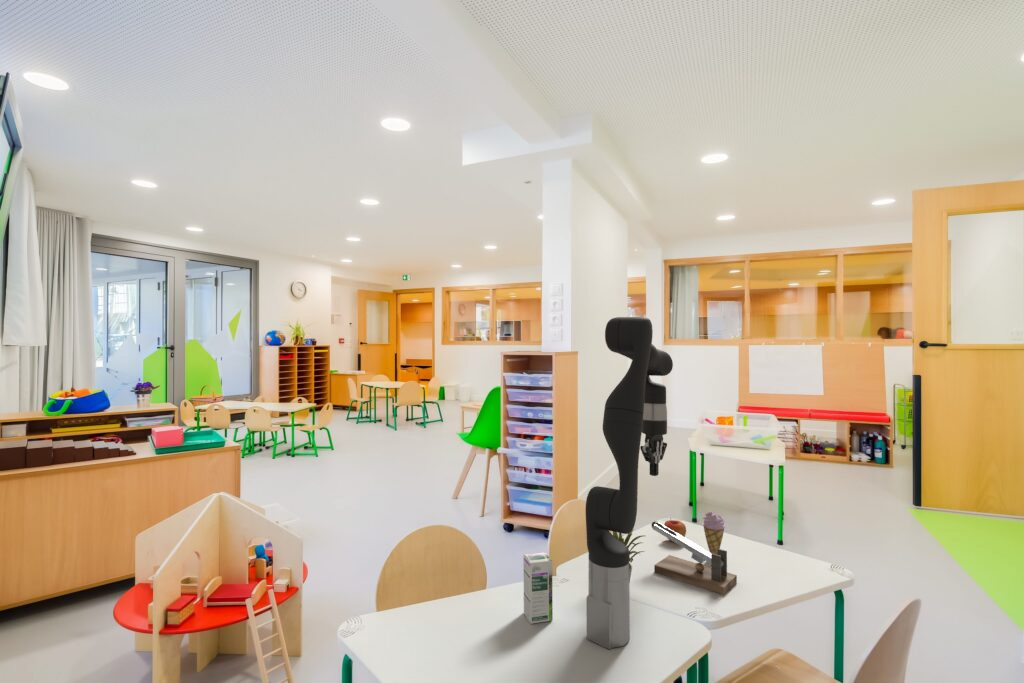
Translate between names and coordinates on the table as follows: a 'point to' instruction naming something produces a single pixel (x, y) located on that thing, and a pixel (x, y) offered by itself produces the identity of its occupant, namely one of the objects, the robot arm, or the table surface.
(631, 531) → the house plant
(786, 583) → the table surface
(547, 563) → the syrup box
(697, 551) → the lever
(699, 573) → the press base
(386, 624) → the table surface
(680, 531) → the apple
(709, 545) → the ice cream cone
